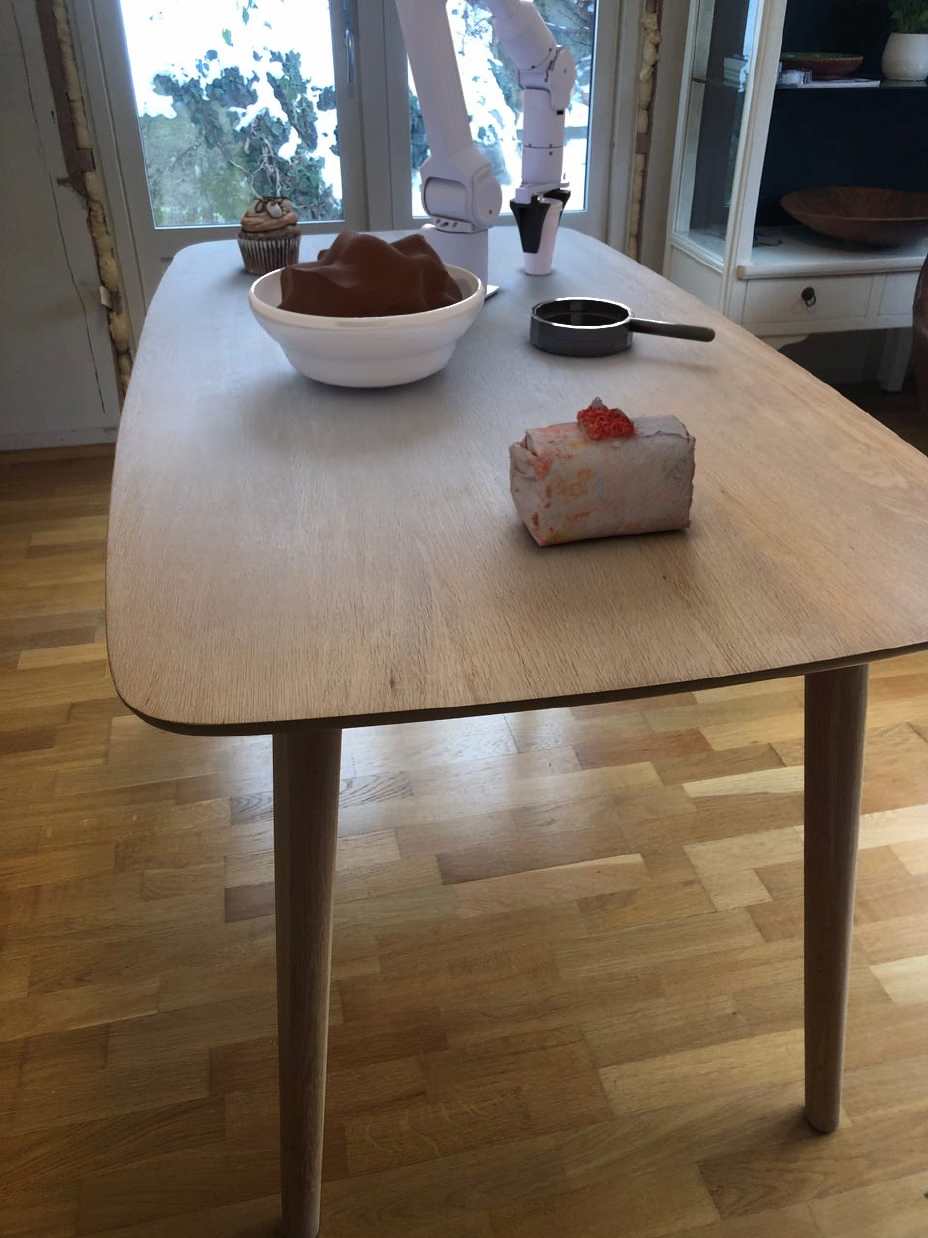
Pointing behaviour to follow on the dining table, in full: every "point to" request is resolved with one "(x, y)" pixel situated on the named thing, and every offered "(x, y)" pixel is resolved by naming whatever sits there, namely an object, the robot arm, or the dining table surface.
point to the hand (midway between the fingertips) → (538, 247)
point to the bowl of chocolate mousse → (368, 311)
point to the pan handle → (671, 330)
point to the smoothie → (545, 240)
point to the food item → (603, 476)
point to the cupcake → (269, 235)
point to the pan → (581, 326)
